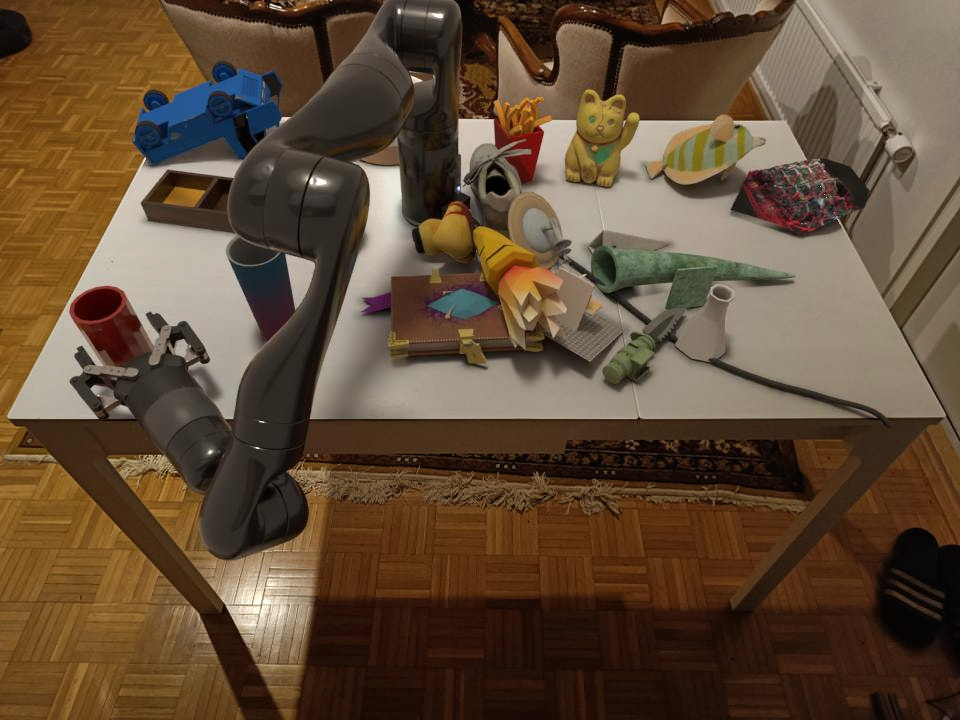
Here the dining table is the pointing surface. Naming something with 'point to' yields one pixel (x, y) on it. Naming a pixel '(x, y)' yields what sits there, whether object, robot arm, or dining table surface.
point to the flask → (706, 327)
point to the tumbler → (110, 325)
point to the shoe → (495, 183)
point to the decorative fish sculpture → (705, 151)
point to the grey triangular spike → (624, 242)
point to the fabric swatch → (801, 194)
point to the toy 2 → (537, 229)
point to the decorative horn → (671, 273)
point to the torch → (519, 285)
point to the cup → (263, 284)
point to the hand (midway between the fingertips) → (116, 333)
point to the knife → (641, 348)
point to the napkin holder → (581, 318)
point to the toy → (448, 234)
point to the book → (447, 317)
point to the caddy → (189, 200)
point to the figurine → (599, 139)
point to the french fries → (520, 134)
